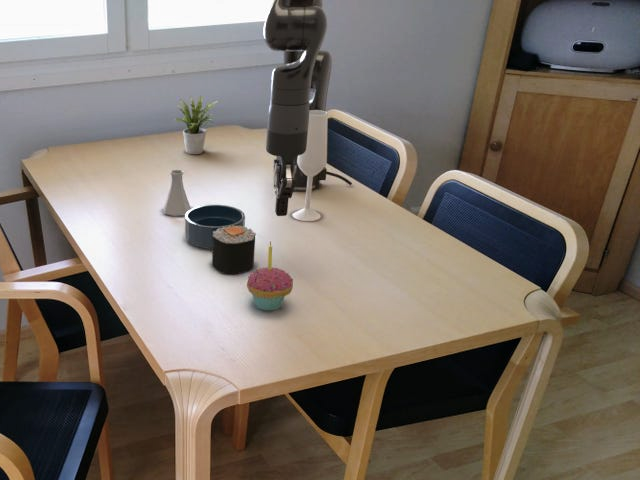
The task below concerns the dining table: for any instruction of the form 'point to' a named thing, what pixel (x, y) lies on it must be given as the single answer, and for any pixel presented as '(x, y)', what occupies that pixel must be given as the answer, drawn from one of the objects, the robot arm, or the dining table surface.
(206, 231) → the bowl
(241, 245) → the sushi
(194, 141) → the house plant
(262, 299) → the cupcake
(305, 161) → the champagne flute
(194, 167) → the dining table surface
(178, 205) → the flask
